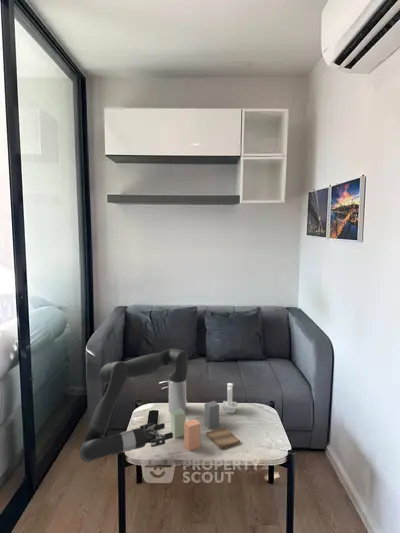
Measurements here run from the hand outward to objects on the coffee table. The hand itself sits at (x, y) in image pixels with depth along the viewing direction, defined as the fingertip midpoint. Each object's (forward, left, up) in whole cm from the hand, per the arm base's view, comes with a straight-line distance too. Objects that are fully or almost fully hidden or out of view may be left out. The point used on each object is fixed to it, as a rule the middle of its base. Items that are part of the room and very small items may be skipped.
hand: (168, 430), depth 159 cm
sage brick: (-12, +11, -11) cm, 19 cm away
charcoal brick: (-11, +29, -11) cm, 32 cm away
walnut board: (+2, +27, -11) cm, 29 cm away
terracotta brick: (0, +12, -11) cm, 16 cm away
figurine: (-19, +45, -11) cm, 50 cm away
